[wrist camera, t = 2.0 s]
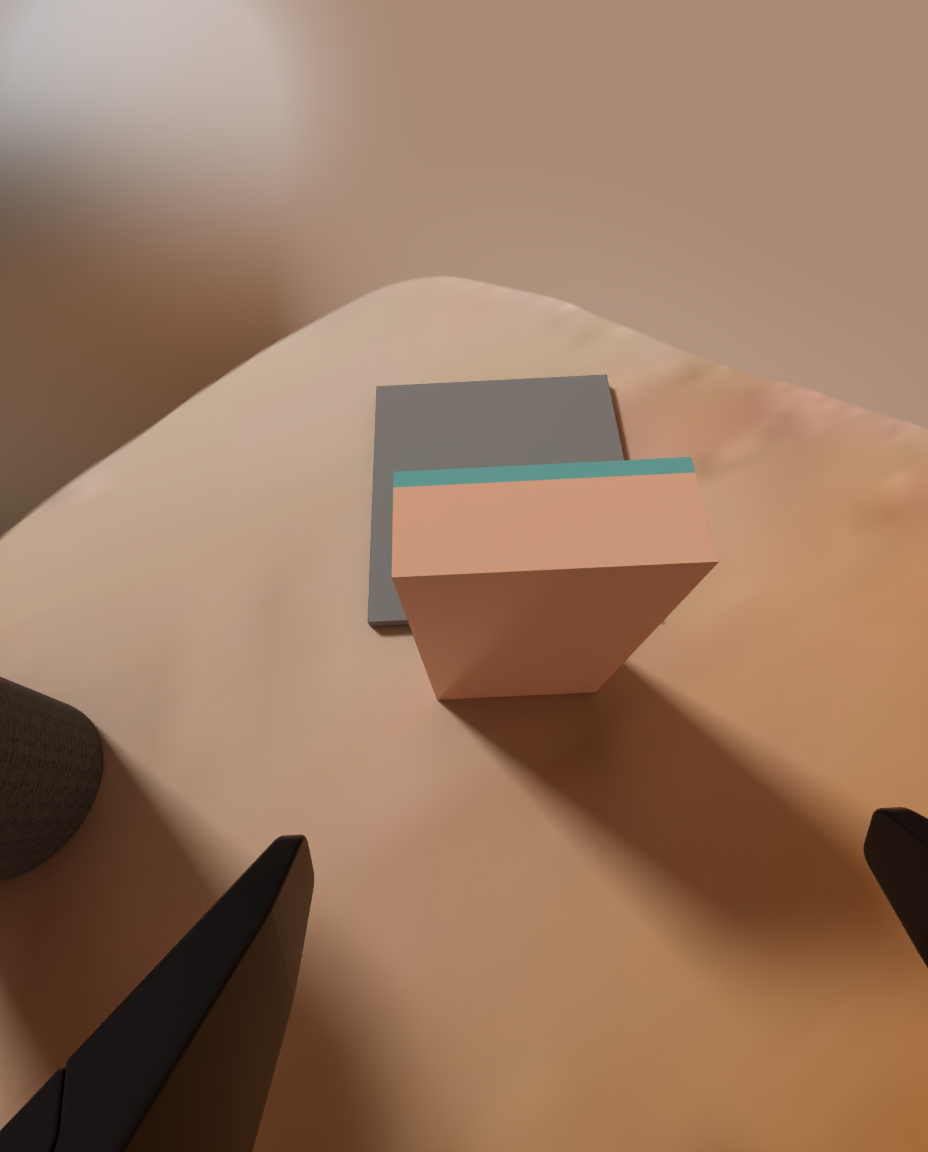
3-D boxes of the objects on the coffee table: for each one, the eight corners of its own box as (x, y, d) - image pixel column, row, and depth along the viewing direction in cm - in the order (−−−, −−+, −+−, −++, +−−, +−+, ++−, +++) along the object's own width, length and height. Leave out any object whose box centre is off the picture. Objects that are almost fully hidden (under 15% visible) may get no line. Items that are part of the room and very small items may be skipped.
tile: (595, 692, 21) (719, 561, 10) (437, 699, 21) (392, 577, 10) (587, 633, 22) (690, 456, 11) (435, 640, 22) (393, 472, 11)
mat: (650, 613, 22) (654, 608, 22) (370, 626, 23) (367, 621, 22) (604, 383, 28) (606, 374, 27) (378, 394, 28) (376, 386, 27)
